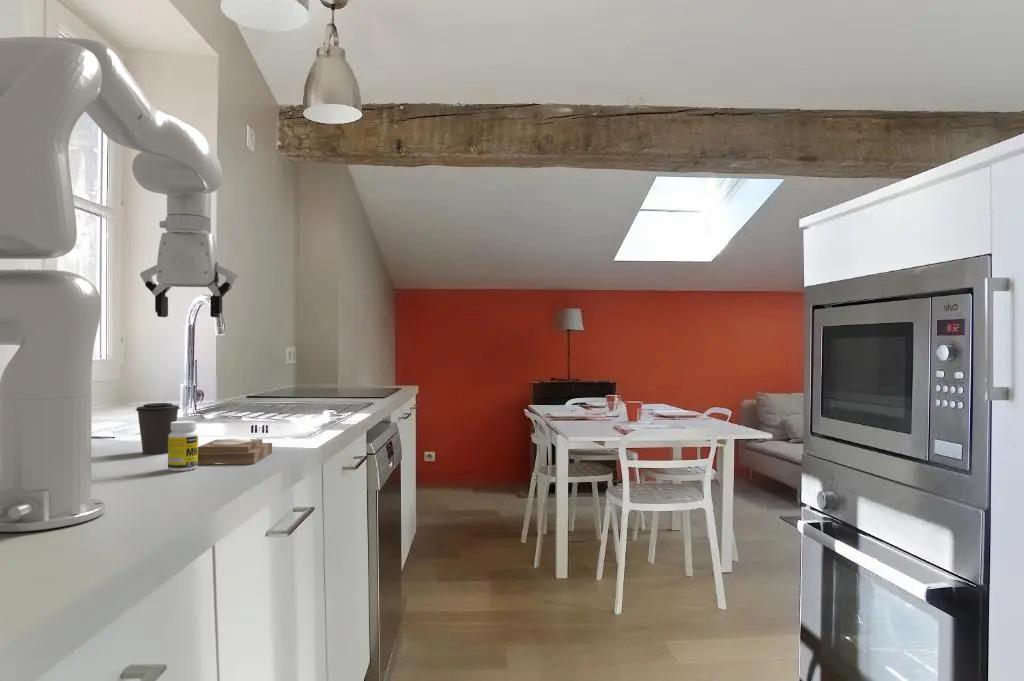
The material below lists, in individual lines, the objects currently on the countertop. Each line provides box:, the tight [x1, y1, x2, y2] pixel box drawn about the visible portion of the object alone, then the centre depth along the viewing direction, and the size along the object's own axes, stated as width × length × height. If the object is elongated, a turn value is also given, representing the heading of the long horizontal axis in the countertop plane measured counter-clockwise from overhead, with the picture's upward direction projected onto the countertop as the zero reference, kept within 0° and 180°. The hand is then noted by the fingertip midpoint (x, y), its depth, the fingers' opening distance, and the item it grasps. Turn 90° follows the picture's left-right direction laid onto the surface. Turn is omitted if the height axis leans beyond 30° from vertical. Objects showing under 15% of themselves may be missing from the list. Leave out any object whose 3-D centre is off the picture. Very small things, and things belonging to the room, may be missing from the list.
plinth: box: [198, 438, 273, 465], centre depth 125 cm, size 12×12×3 cm
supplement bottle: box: [167, 420, 199, 472], centre depth 115 cm, size 5×5×8 cm
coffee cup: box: [135, 402, 181, 455], centre depth 132 cm, size 8×8×10 cm
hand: (189, 317), depth 124 cm, fingers open, 9 cm apart
